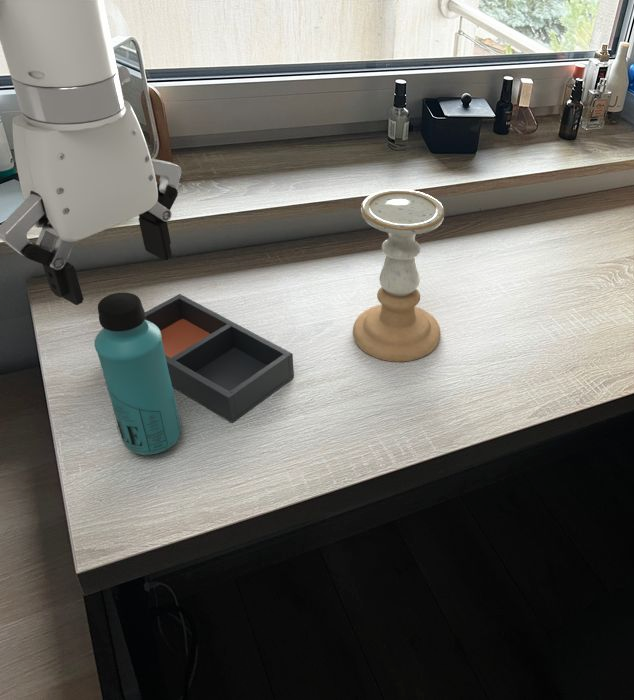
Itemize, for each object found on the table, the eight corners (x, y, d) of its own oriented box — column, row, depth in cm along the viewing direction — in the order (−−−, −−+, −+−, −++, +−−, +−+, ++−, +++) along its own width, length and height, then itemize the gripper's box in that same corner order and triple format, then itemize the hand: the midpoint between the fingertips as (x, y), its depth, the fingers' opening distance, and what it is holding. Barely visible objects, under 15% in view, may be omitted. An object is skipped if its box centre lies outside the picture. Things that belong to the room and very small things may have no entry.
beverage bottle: (194, 428, 85) (167, 286, 72) (169, 470, 79) (136, 325, 67) (139, 420, 85) (103, 277, 72) (111, 462, 80) (67, 315, 67)
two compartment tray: (232, 423, 86) (228, 398, 83) (118, 355, 93) (111, 329, 91) (294, 377, 93) (292, 353, 91) (184, 317, 101) (179, 293, 98)
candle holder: (445, 362, 99) (458, 232, 86) (354, 363, 97) (354, 231, 84) (434, 309, 108) (445, 186, 96) (351, 310, 106) (351, 183, 94)
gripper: (132, 60, 65) (164, 228, 75) (-69, 110, 53) (3, 301, 64) (190, 81, 62) (215, 252, 73) (-8, 140, 50) (57, 334, 61)
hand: (116, 275), depth 68 cm, fingers open, 9 cm apart
